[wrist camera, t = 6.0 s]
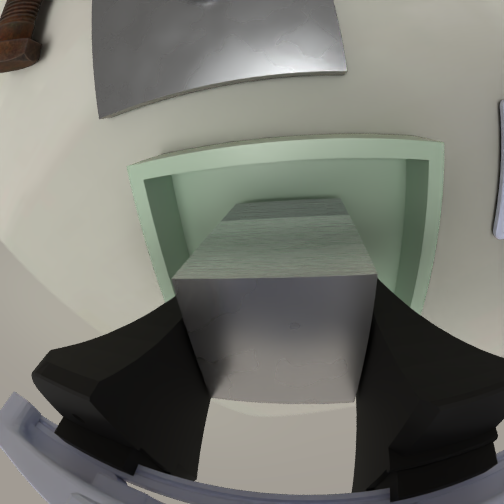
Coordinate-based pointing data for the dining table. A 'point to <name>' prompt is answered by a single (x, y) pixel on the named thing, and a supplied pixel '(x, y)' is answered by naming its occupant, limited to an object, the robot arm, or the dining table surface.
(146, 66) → the stud plate
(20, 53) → the bolt
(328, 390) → the grey metal block
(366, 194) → the parts tray
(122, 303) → the dining table surface
